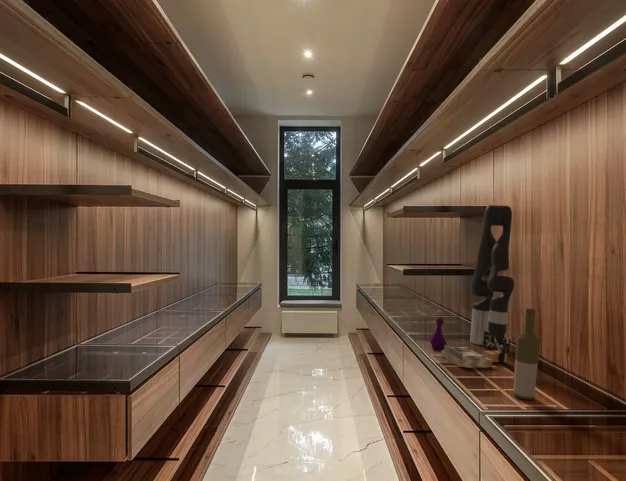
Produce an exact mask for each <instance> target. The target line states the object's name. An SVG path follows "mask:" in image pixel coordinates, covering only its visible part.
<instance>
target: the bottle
mask: <svg viewBox="0 0 626 481" xmlns="http://www.w3.org/2000/svg"><path fill="white" fill-rule="evenodd" d="M535 315H536V309H531V308H526V309H525V322H524V331H522V333H520V334H519V335H518V336H517V337H516V341H515V342H516V343H515V354H514V355H515V356H514V360H515V361H514V373H513V374H514V376H513V389H512V390H513V391H512V392H513V393H512V394H513V395H514V396H515V397H517V398H519V399H521V400H527V401H530V400H534V398H535V396H536V394H535V392H536V383H537V373H538V366H539V365H538V364H539V354H540V344H541V343H540V339H539V338H538V337H537V336H536V334H535V332H534V325H535V324H534V323H535Z"/></svg>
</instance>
